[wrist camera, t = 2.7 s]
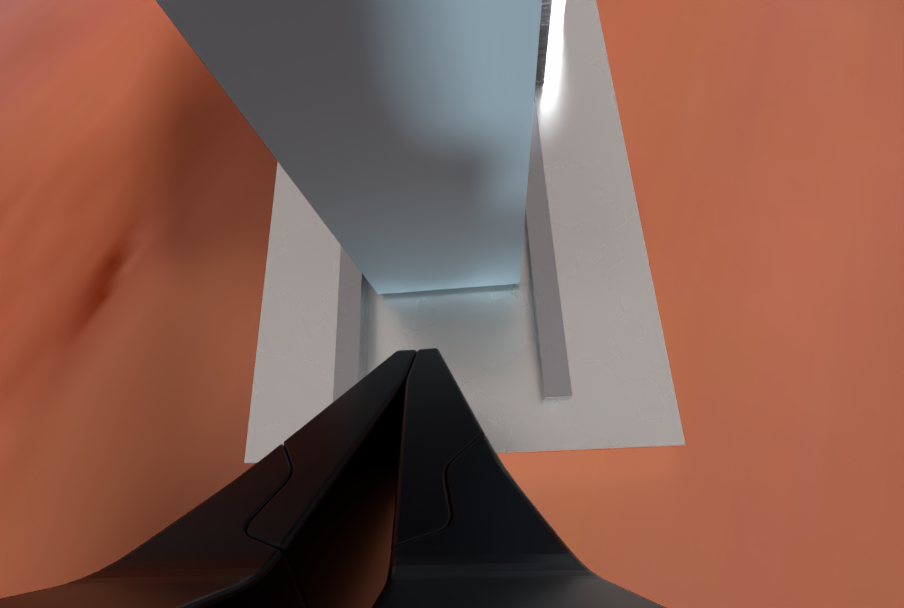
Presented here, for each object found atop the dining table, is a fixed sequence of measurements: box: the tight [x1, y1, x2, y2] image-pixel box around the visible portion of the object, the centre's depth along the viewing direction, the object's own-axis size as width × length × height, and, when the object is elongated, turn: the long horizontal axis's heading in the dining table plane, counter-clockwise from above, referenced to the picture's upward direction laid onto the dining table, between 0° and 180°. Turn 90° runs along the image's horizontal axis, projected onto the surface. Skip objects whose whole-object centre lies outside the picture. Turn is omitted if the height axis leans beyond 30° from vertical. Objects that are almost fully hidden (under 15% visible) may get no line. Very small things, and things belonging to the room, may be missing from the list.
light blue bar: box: [156, 0, 542, 294], centre depth 11 cm, size 8×6×14 cm
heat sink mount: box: [244, 0, 685, 463], centre depth 16 cm, size 24×14×7 cm, turn 3°
